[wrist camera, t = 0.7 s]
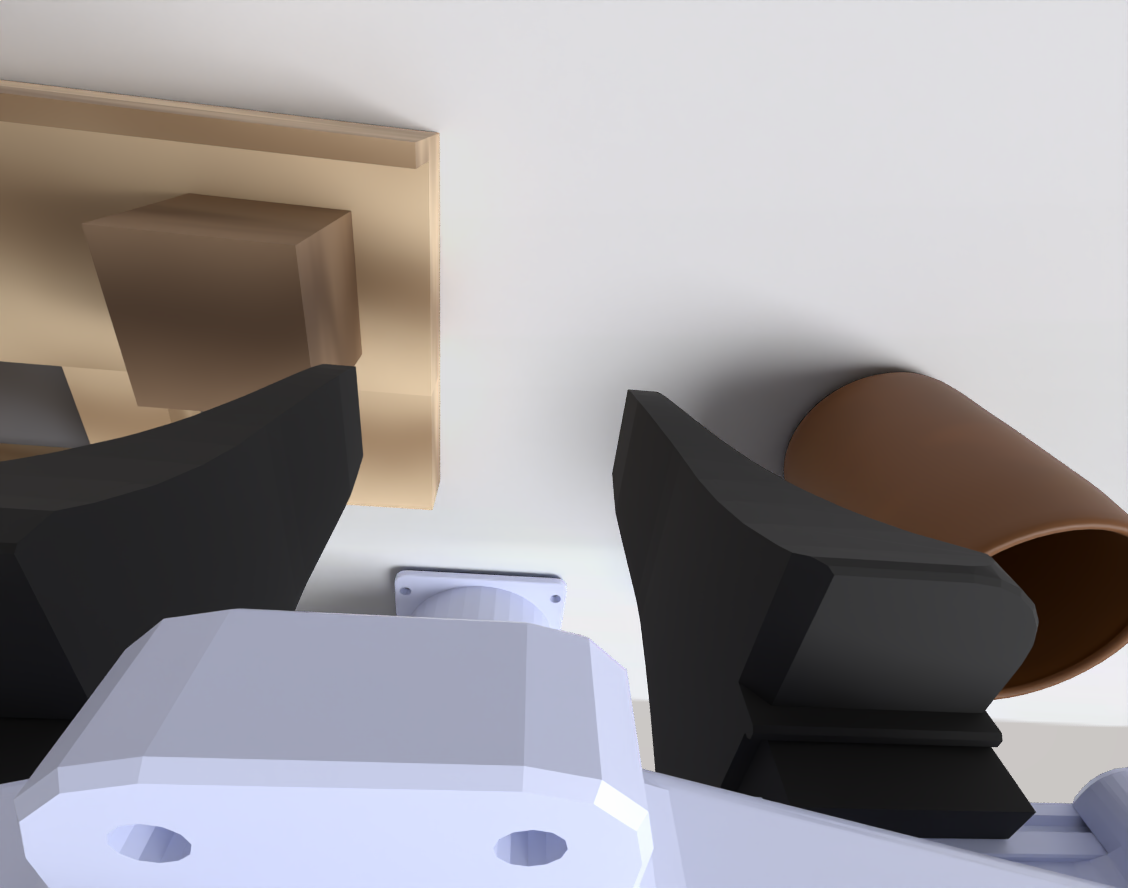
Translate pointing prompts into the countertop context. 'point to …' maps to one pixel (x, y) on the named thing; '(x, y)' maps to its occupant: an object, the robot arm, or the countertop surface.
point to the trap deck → (226, 169)
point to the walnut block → (226, 295)
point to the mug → (977, 506)
